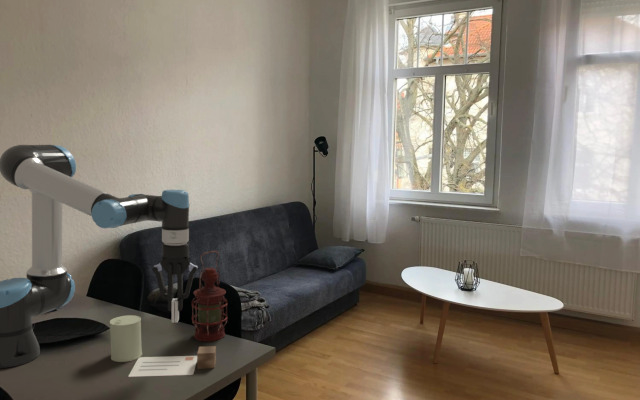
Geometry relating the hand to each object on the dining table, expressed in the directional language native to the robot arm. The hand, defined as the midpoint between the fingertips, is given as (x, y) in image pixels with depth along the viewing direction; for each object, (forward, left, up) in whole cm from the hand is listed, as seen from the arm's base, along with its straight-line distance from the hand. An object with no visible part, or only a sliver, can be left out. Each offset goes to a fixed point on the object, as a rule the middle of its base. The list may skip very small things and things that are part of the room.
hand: (175, 320), depth 148 cm
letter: (-3, 0, -14) cm, 14 cm away
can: (-16, +8, -14) cm, 23 cm away
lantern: (+8, +23, -14) cm, 28 cm away
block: (+9, 0, -14) cm, 17 cm away
